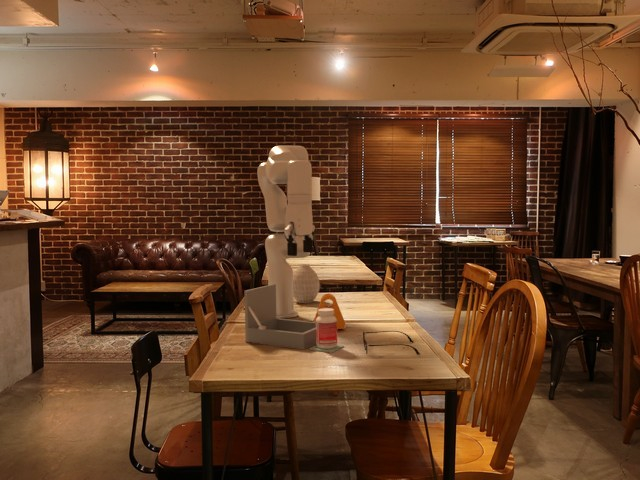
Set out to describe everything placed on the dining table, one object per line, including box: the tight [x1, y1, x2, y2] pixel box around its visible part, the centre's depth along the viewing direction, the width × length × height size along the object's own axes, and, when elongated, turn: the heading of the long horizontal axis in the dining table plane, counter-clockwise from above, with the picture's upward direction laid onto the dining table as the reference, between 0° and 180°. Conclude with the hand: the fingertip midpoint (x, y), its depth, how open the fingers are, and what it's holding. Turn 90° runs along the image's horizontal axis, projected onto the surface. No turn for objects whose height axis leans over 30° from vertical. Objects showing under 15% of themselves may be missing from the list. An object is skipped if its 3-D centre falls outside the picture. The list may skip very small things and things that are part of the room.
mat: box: [309, 344, 345, 354], centre depth 158 cm, size 8×8×1 cm
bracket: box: [312, 293, 346, 332], centre depth 183 cm, size 11×7×12 cm, turn 90°
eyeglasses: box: [362, 330, 420, 355], centre depth 157 cm, size 16×16×4 cm
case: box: [243, 284, 316, 350], centre depth 168 cm, size 21×16×16 cm
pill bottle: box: [315, 308, 338, 349], centre depth 158 cm, size 6×6×11 cm
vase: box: [293, 263, 320, 304], centre depth 236 cm, size 13×13×17 cm
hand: (300, 253), depth 171 cm, fingers open, 9 cm apart
